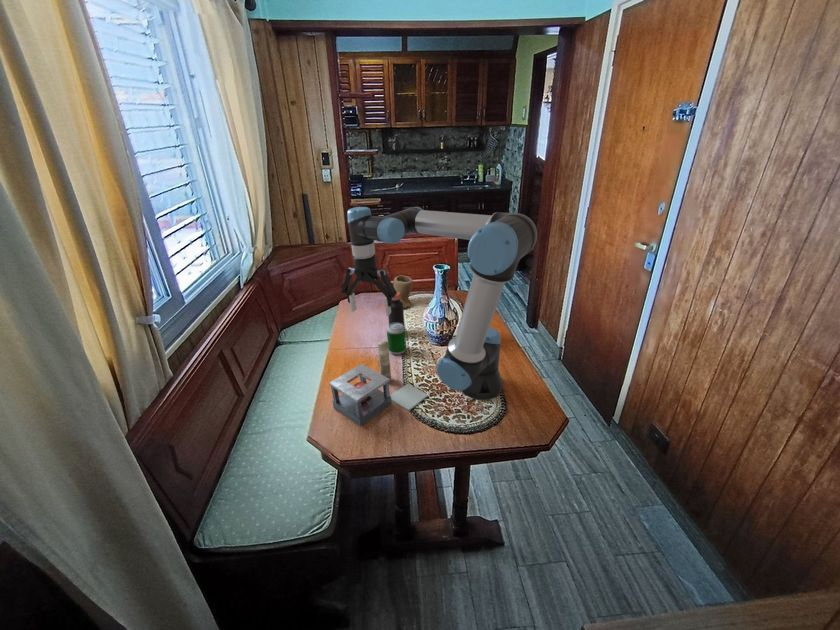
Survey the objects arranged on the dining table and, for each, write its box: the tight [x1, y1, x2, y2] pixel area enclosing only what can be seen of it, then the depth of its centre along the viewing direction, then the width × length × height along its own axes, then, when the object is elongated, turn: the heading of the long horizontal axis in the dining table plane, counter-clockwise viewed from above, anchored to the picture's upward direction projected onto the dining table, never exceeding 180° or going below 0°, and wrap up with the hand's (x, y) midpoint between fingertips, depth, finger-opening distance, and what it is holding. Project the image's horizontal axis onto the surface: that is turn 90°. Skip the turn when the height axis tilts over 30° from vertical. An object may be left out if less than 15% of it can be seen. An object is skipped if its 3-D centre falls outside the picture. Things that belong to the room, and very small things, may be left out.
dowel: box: [377, 340, 392, 383], centre depth 140 cm, size 4×4×16 cm
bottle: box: [387, 291, 405, 326], centre depth 169 cm, size 7×7×20 cm
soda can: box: [386, 323, 407, 356], centre depth 159 cm, size 8×8×12 cm
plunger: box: [353, 381, 368, 403], centre depth 129 cm, size 4×4×5 cm
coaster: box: [390, 383, 429, 412], centre depth 134 cm, size 10×10×1 cm
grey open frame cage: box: [328, 363, 393, 427], centre depth 129 cm, size 14×14×10 cm
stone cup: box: [393, 274, 414, 309], centre depth 199 cm, size 15×12×15 cm
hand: (371, 312), depth 138 cm, fingers open, 13 cm apart
